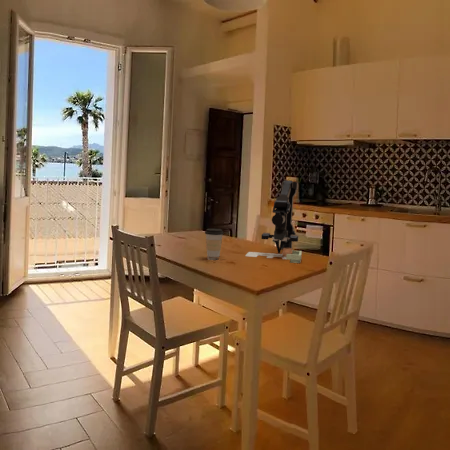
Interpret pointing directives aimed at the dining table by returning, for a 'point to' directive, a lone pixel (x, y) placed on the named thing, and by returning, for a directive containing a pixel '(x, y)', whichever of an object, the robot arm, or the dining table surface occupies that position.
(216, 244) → the coffee cup
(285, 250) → the pink short cylinder
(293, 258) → the deck
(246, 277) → the dining table surface
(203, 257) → the dining table surface
